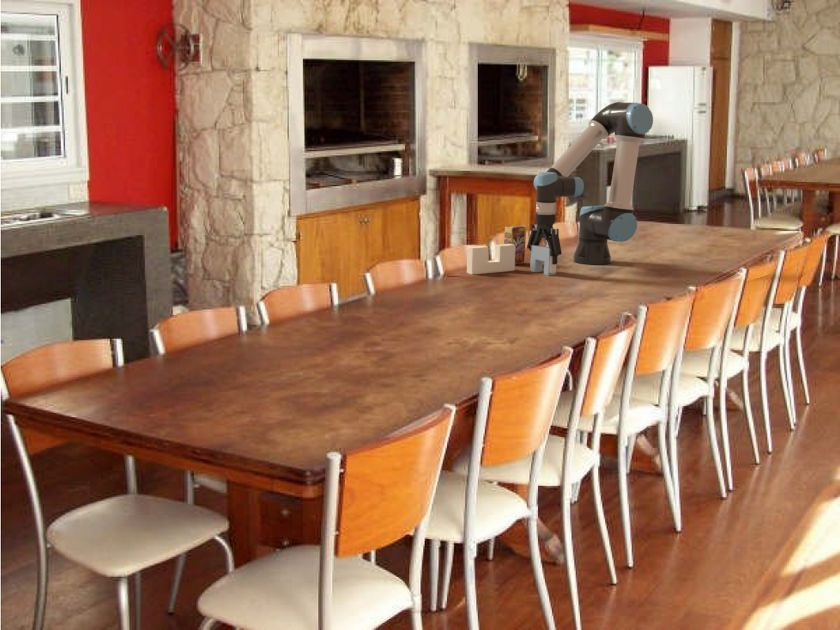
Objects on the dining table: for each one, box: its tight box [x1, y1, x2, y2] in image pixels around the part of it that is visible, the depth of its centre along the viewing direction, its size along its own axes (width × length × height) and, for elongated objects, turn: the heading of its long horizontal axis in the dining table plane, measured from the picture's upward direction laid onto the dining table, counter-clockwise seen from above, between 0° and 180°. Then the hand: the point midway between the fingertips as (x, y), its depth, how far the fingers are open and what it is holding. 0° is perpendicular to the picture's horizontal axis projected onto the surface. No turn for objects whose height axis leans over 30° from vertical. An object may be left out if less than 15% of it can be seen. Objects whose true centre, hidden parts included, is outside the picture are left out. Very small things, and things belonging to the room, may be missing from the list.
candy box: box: [503, 224, 527, 265], centre depth 436 cm, size 9×4×15 cm, turn 134°
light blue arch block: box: [530, 244, 557, 276], centre depth 418 cm, size 11×4×10 cm, turn 32°
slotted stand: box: [466, 243, 516, 275], centre depth 418 cm, size 20×4×10 cm, turn 122°
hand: (543, 270), depth 419 cm, fingers closed on light blue arch block, 11 cm apart
